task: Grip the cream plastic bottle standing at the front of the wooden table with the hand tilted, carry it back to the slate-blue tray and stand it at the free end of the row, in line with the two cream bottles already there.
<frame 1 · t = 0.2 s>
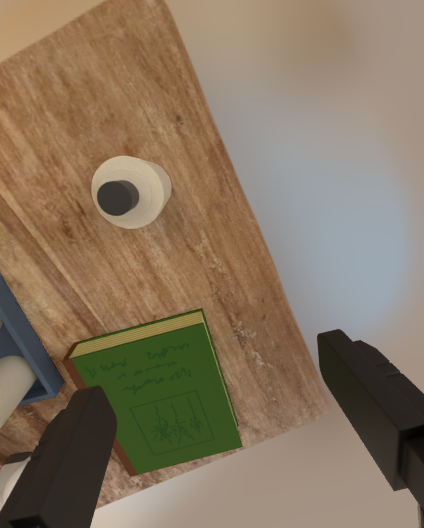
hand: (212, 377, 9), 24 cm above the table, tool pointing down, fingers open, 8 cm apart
bottle: (147, 187, 29), on the table
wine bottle: (29, 466, 43), on the table
hardcover book: (165, 388, 40), on the table
lightbulb: (61, 425, 41), on the table
row bottle 2: (16, 371, 36), resting on tray
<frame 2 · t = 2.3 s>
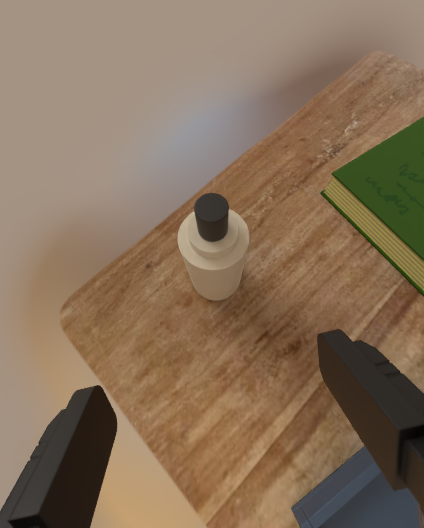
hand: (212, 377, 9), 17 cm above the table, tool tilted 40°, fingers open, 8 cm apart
bottle: (216, 276, 29), on the table
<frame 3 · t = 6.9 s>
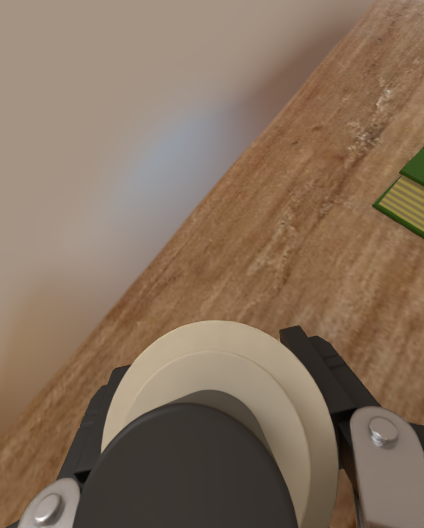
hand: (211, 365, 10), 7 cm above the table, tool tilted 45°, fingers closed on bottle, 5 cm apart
bottle: (228, 399, 15), on the table, touching gripper
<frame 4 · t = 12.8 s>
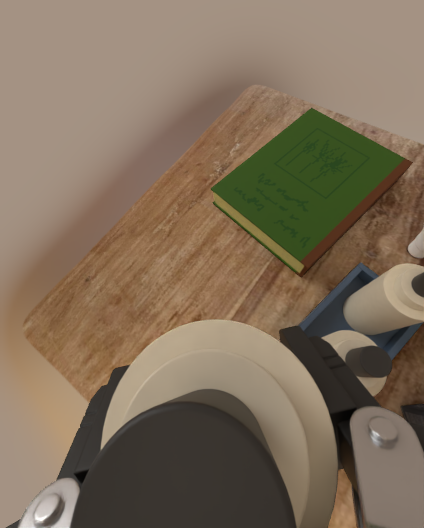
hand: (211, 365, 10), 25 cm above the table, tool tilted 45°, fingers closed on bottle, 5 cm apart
row bottle 1: (317, 365, 31), resting on tray
tray: (311, 371, 31), on the table
bottle: (228, 399, 15), point 18 cm above the table, touching gripper
hardcover book: (305, 191, 42), on the table
lightbulb: (413, 253, 36), on the table
row bottle 2: (365, 313, 33), resting on tray
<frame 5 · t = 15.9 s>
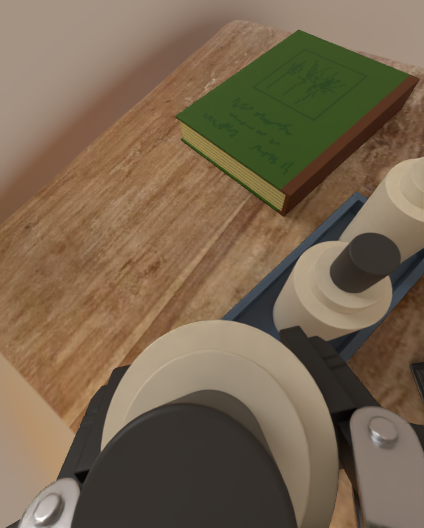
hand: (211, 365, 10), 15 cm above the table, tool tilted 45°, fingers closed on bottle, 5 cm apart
row bottle 1: (302, 316, 24), resting on tray
tray: (293, 324, 25), on the table
bottle: (228, 399, 15), point 8 cm above the table, touching gripper
hardcover book: (290, 124, 35), on the table
row bottle 2: (363, 253, 26), resting on tray
when the fingers open (7 cm above the table, at t = 18.6 s): bottle stays where it is, resting on tray.
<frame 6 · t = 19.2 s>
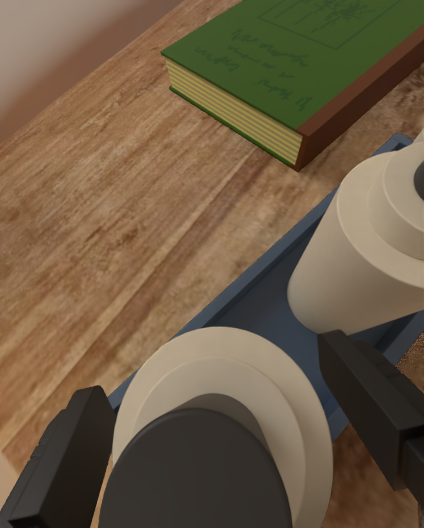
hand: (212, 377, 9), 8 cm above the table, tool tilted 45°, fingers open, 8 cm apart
row bottle 1: (328, 295, 17), resting on tray
tray: (316, 307, 18), on the table
bottle: (230, 400, 16), point 1 cm above the table, touching tray
hardcover book: (303, 68, 29), on the table
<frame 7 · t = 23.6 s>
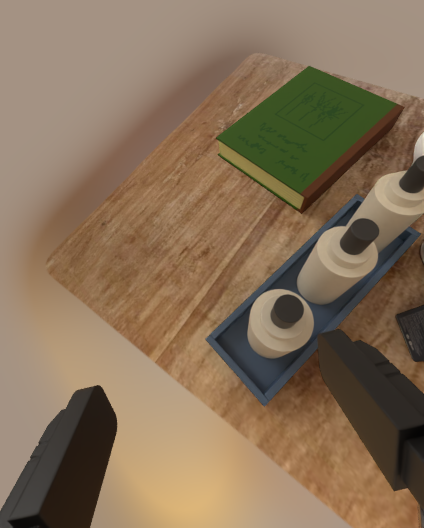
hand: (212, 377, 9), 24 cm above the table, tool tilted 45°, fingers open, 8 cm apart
row bottle 1: (318, 284, 34), resting on tray
tray: (312, 290, 34), on the table
bottle: (269, 334, 32), point 1 cm above the table, touching tray
hardcover book: (304, 141, 45), on the table
lightbulb: (406, 189, 39), on the table
row bottle 2: (361, 239, 36), resting on tray
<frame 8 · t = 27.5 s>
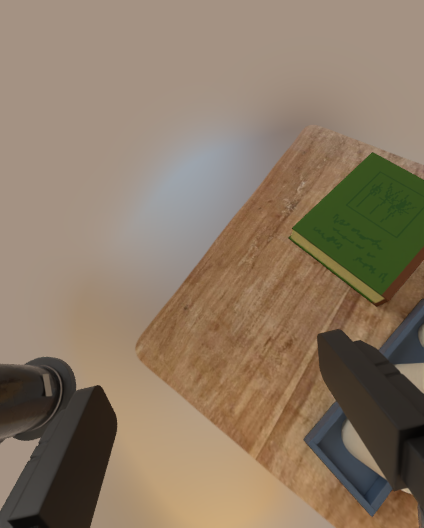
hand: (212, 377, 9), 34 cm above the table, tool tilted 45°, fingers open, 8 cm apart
row bottle 1: (402, 385, 37), resting on tray
tray: (395, 389, 37), on the table
bottle: (362, 436, 35), point 1 cm above the table, touching tray
hardcover book: (370, 227, 48), on the table
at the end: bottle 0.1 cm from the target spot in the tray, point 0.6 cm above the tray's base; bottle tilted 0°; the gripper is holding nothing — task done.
